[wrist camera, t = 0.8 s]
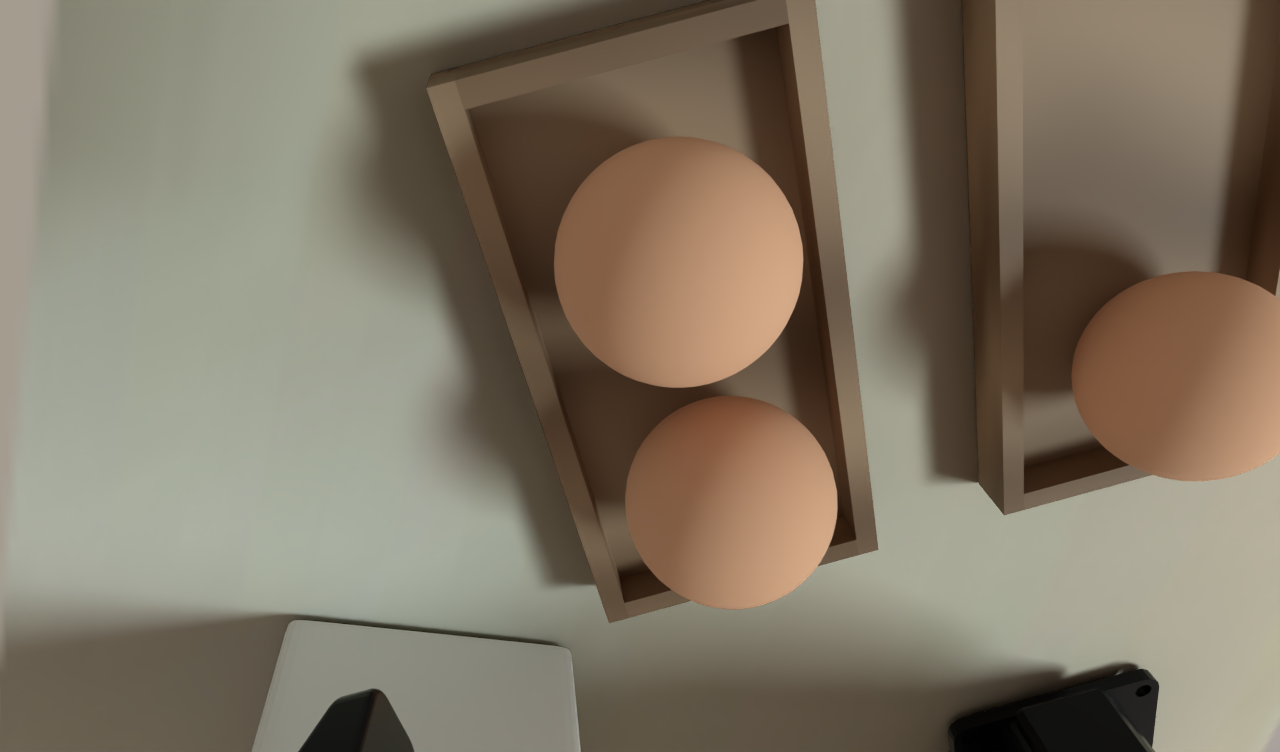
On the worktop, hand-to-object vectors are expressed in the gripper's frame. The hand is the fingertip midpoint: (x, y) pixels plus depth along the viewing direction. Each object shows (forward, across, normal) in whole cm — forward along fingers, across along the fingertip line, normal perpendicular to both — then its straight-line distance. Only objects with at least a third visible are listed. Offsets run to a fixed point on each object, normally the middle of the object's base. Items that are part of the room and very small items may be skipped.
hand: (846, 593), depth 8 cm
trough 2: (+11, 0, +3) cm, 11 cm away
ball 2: (+8, 0, +5) cm, 10 cm away
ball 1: (+8, 0, 0) cm, 8 cm away
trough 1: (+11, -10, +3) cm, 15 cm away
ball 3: (+8, -10, +5) cm, 14 cm away
